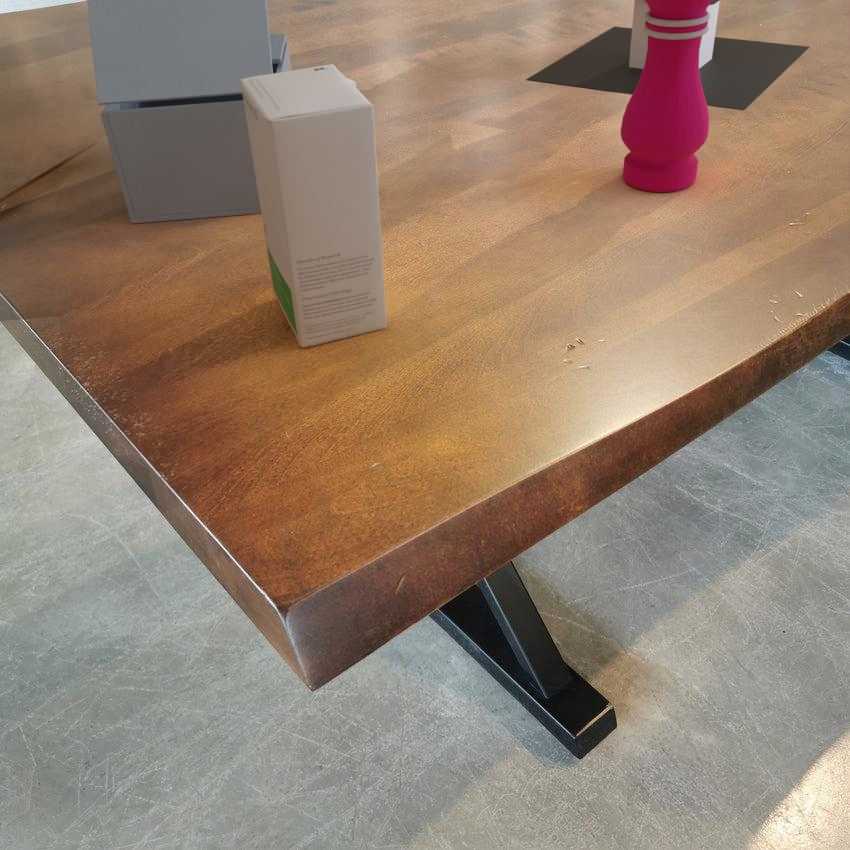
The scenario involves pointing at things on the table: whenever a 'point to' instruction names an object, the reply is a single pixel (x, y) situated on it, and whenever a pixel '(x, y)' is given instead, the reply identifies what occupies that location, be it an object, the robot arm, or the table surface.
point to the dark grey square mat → (718, 62)
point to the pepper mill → (668, 100)
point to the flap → (176, 48)
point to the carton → (186, 154)
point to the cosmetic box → (318, 200)
